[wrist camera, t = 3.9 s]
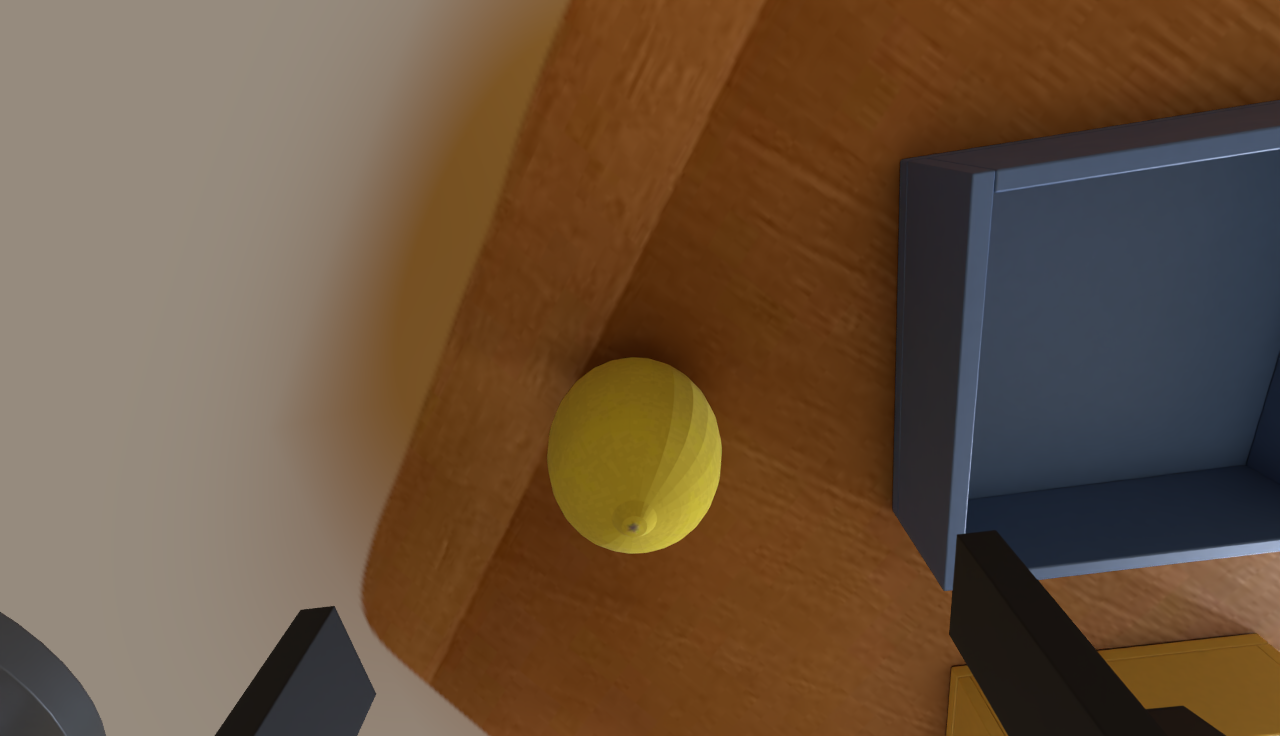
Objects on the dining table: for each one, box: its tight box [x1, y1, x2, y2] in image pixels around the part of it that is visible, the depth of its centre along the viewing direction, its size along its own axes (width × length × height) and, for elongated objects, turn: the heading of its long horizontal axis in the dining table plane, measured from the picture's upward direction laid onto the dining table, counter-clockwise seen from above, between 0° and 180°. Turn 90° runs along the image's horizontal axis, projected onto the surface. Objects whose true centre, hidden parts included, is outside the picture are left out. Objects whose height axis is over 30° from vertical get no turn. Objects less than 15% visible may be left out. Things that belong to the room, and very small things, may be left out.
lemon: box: [547, 357, 722, 554], centre depth 19 cm, size 6×6×8 cm
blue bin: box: [893, 100, 1280, 591], centre depth 20 cm, size 14×14×5 cm
